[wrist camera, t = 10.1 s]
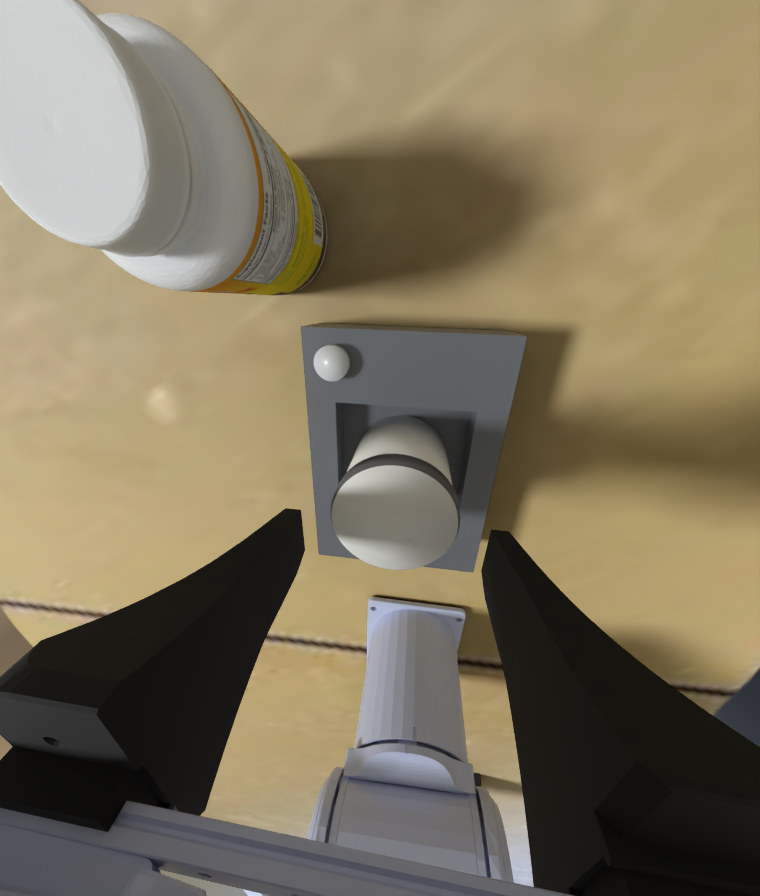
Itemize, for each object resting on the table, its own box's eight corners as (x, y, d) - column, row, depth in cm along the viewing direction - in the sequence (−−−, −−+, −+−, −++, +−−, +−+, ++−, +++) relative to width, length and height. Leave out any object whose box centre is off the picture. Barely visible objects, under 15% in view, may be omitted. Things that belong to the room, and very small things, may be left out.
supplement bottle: (205, 244, 16) (-105, 158, 6) (256, 127, 13) (-109, -265, 4) (293, 320, 17) (136, 338, 7) (354, 223, 14) (236, 80, 5)
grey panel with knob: (466, 539, 22) (474, 580, 18) (330, 524, 23) (315, 561, 19) (508, 330, 16) (531, 337, 12) (320, 322, 16) (296, 327, 13)
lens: (444, 497, 19) (454, 576, 13) (358, 493, 19) (334, 566, 14) (452, 414, 16) (467, 468, 11) (354, 412, 17) (322, 462, 11)
